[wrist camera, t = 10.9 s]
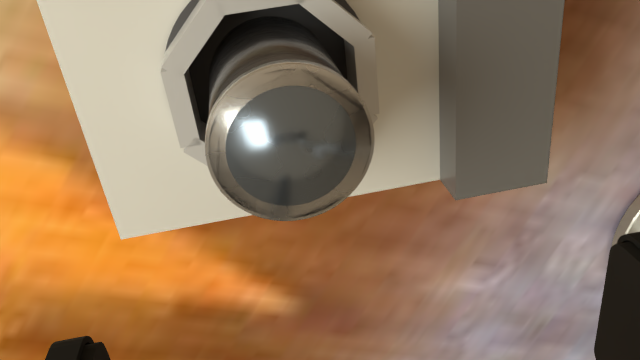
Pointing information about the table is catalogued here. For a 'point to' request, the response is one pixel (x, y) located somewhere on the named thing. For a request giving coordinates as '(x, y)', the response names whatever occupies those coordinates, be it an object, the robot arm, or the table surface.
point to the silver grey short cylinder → (283, 122)
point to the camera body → (354, 64)
